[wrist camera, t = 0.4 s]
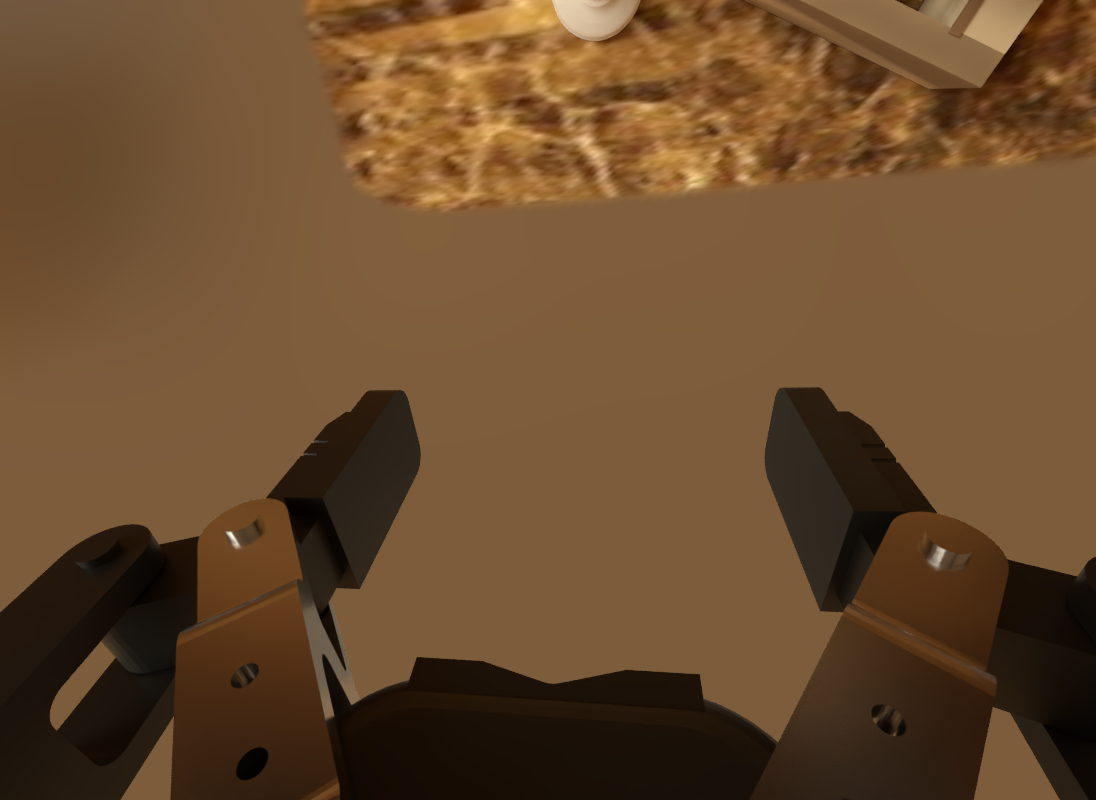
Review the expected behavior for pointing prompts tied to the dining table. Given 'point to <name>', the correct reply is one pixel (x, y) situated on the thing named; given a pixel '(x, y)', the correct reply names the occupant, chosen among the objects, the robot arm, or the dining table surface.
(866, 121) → the dining table surface
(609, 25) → the chess piece
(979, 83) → the socket block
